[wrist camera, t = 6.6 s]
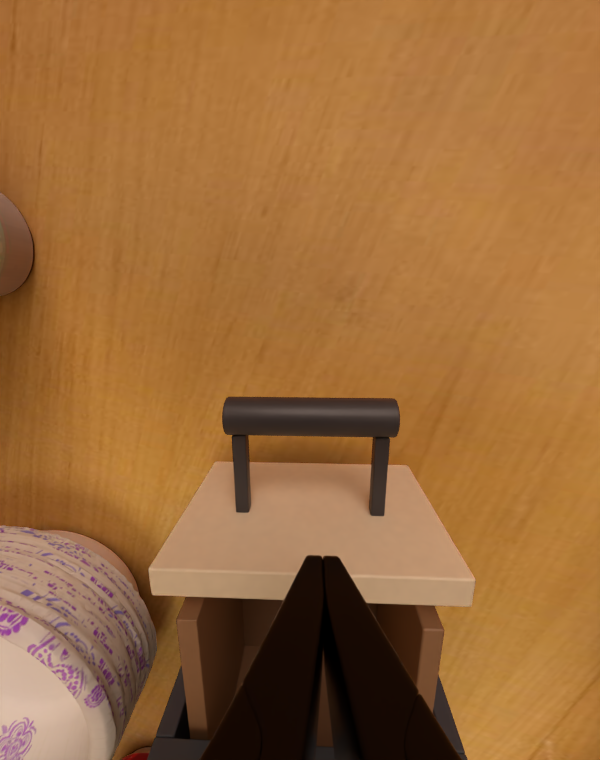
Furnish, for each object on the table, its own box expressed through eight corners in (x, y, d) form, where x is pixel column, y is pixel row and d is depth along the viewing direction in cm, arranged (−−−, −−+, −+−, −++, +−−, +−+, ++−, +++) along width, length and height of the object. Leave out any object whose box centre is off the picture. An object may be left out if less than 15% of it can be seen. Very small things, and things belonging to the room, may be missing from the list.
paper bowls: (195, 525, 21) (125, 656, 13) (159, 684, 24) (88, 861, 17) (-30, 465, 20) (-241, 565, 13) (-33, 637, 24) (-198, 795, 16)
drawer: (208, 374, 17) (127, 428, 10) (415, 375, 17) (500, 434, 9) (227, 636, 22) (181, 814, 14) (392, 643, 21) (435, 830, 14)
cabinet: (218, 563, 21) (144, 763, 12) (402, 569, 21) (476, 783, 12) (229, 714, 25) (179, 962, 15) (388, 723, 24) (435, 984, 15)
